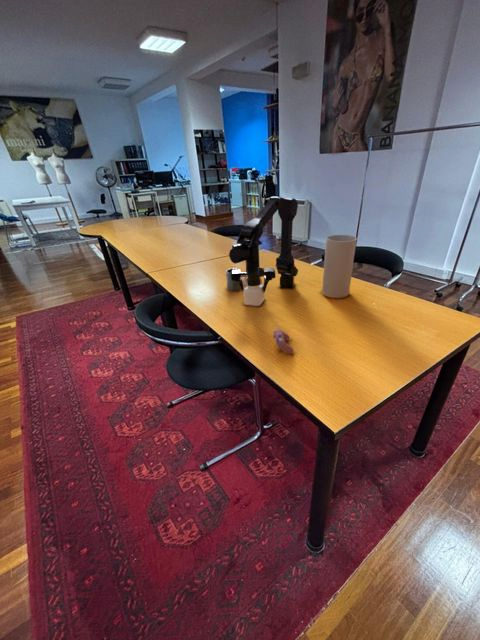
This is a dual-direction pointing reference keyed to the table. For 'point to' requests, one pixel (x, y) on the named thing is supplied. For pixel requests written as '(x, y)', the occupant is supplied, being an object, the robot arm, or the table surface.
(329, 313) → the table surface
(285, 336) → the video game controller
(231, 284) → the glazed cup
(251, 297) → the medicine bottle
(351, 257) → the cylinder vase
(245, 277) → the decorative fruit
